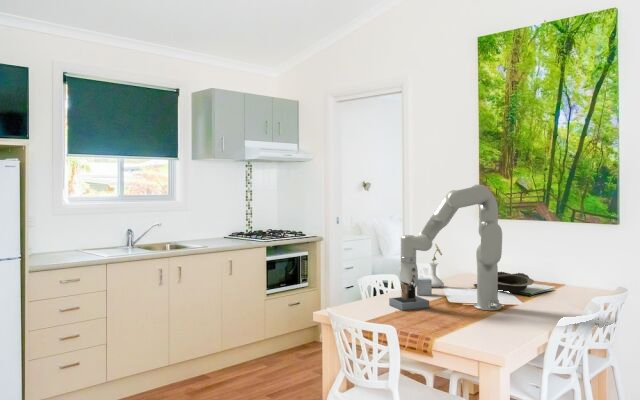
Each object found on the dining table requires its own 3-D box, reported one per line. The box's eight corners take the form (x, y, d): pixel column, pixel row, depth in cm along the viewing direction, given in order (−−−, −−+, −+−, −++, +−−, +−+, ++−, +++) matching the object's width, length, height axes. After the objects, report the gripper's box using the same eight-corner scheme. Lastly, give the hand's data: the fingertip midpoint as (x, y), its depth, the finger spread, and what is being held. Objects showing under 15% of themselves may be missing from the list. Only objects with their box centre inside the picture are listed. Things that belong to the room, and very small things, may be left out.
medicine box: (430, 293, 291) (430, 278, 291) (431, 295, 287) (431, 279, 286) (416, 293, 292) (416, 278, 292) (417, 295, 287) (416, 279, 287)
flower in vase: (439, 289, 302) (439, 245, 301) (420, 287, 308) (420, 244, 307) (447, 285, 313) (447, 243, 312) (429, 283, 319) (429, 242, 318)
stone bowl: (499, 284, 313) (501, 268, 312) (541, 293, 295) (542, 277, 294) (477, 290, 296) (478, 273, 295) (520, 300, 278) (521, 283, 277)
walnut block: (415, 299, 262) (415, 284, 261) (406, 299, 260) (406, 285, 260) (410, 296, 266) (410, 283, 266) (401, 297, 264) (401, 283, 264)
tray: (429, 307, 260) (429, 300, 260) (402, 310, 254) (402, 303, 254) (415, 302, 272) (415, 295, 272) (389, 305, 267) (389, 298, 266)
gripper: (424, 262, 256) (424, 299, 256) (406, 257, 272) (406, 292, 272) (410, 263, 253) (410, 301, 254) (393, 258, 269) (393, 294, 270)
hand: (408, 296), depth 263 cm, fingers closed on walnut block, 5 cm apart
